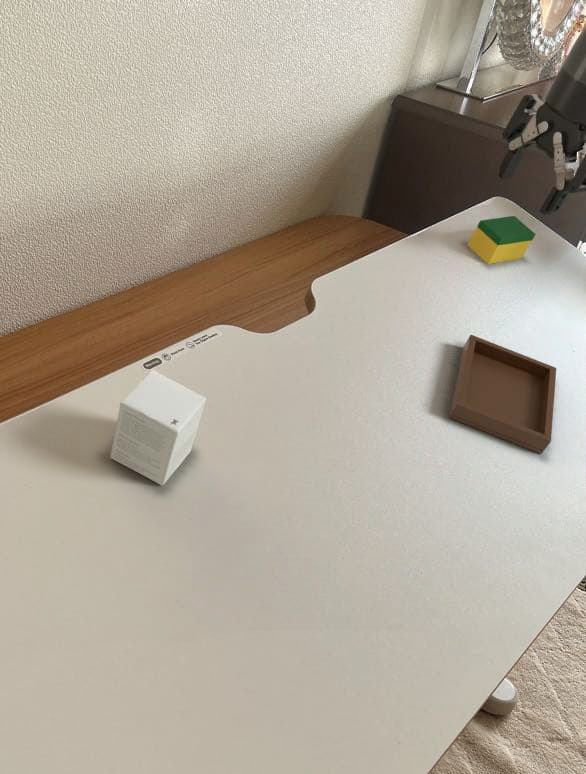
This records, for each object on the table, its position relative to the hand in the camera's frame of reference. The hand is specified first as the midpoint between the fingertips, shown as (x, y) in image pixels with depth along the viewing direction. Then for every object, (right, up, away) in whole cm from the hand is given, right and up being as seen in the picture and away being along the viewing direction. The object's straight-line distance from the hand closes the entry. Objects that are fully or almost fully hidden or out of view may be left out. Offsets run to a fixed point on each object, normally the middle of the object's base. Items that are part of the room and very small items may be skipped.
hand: (524, 194), depth 120 cm
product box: (-50, -39, -34) cm, 71 cm away
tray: (-9, -30, -15) cm, 35 cm away
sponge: (-2, -6, +7) cm, 9 cm away
